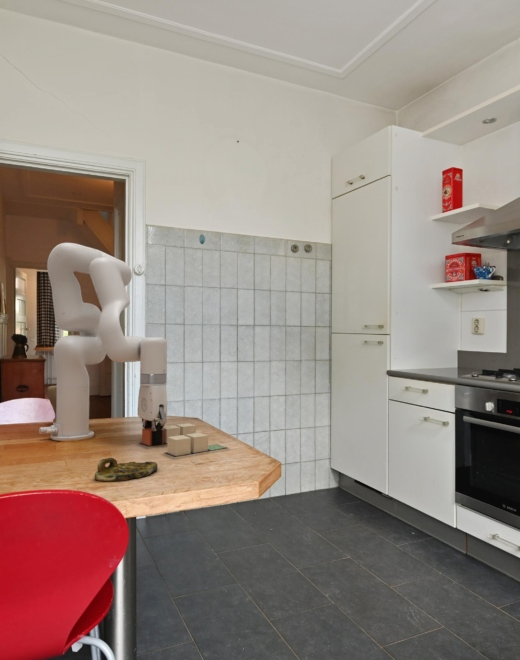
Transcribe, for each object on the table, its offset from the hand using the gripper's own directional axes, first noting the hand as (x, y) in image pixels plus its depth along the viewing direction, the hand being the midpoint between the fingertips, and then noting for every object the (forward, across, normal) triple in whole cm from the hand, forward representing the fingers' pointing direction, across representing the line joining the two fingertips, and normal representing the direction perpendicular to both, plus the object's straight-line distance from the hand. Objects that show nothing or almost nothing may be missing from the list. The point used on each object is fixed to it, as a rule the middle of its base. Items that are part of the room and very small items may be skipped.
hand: (152, 442), depth 139 cm
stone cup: (+1, -47, -10) cm, 48 cm away
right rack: (+1, +15, +6) cm, 16 cm away
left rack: (+1, 0, +6) cm, 6 cm away
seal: (+1, +24, -18) cm, 30 cm away
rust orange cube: (0, 0, 0) cm, 0 cm away
